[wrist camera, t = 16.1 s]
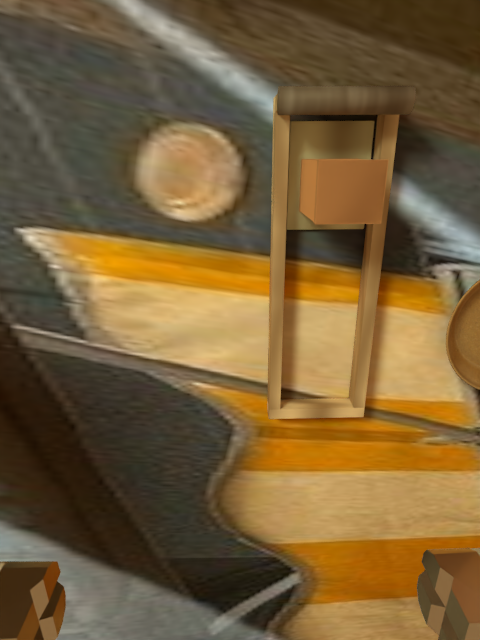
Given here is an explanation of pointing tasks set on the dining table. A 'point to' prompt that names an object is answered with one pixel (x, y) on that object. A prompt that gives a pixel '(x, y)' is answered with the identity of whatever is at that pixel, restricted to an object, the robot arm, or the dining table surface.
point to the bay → (328, 144)
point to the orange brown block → (343, 190)
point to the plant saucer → (466, 337)
